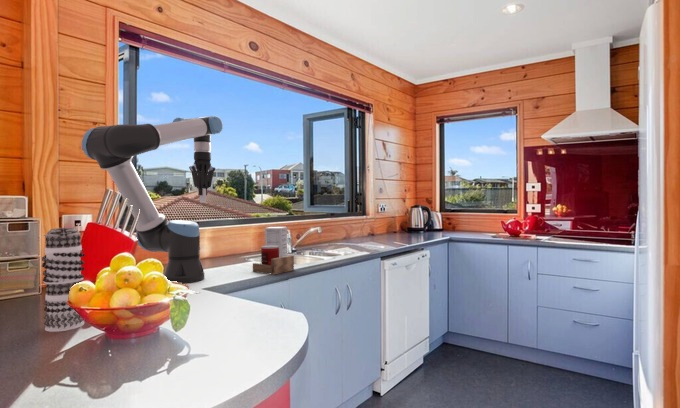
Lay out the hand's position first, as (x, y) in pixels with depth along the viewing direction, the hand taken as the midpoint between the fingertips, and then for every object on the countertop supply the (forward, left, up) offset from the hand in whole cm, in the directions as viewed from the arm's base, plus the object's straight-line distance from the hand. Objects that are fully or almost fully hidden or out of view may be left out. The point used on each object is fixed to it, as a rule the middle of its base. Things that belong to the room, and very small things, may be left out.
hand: (202, 202), depth 190 cm
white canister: (+38, -10, -31) cm, 50 cm away
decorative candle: (-74, -45, -31) cm, 92 cm away
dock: (+12, -33, -30) cm, 46 cm away
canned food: (+11, -33, -31) cm, 46 cm away
